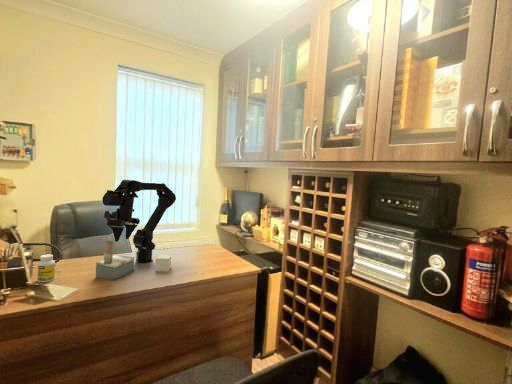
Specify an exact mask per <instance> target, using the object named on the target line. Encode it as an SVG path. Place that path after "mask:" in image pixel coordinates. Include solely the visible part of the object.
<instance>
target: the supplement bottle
mask: <svg viewBox="0 0 512 384" xmlns="http://www.w3.org/2000/svg"><path fill="white" fill-rule="evenodd" d="M53 258H54V255H53V254H51V253H50V254H43V255H40V257H39V260H40V261H39V262H38V263H37V277H36V278H37V282H38V283H47V282H52V281H53V280H54V279H55V273H56V269H55V268H56V266H55V265H56V262H55V260H54V259H53Z"/></svg>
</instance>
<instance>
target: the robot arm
mask: <svg viewBox="0 0 512 384" xmlns="http://www.w3.org/2000/svg"><path fill="white" fill-rule="evenodd" d="M140 191H155V192H156V195H157V196H158V198H157V206H156V207H155V209H154V211H153V212H152V214H151V216H150V217H149V218H148V220H147V222H146V223H145V225H144V227H143V228H141V229H139V228H138V229H137V230H136V232H135V229H136V228H137V227H138V226H139V225H140V221H141V219H140V218H138V217H133V212H135V209H134V203H135V199H137V198H139V195H138V194H137V193H138V192H140ZM176 200H177V197H176V194H175V193H174V191H173V190H171V189H170V188H169V187H168V186H167V185H166V184H165V182H158V181H157V182H145V181H143V182H141V181H138V180H134V179H122V180H121V181H120V184H118V186H117V187H116V188H115V189H114V190H111V189H110V190H109V189H107V190H106V192H105V193H104V195H103V196H102V204H103V205H104V206H107V207H117V208H116V210H115V211H111V210H106V211H104V213H103V218H105V220H106V226H108V228H110V229H111V230H112V233H113V237H114V241H115V242H116V243H117V242H119V240H120V237H121V236H122V234H123V232H124V229H125V240H129V238H130V237H131V235H132V234H133V232H135V234H134V235H133V238H132V243H133V246H134V248H135V249H137V251H136V253H135V255H136V256H135V260H136V262H138V263H139V264H143V263H152V262H153V261H154V259H153V250H155V248H156V243H154V242H153V239H154V231H155V230H156V228H157V226H158V224H159V222H160V220H162V218H163V216H164V214H165V212H166V211H167V210H168V209H169V208H171V207H172V206H173V205H174V204H175V202H176Z"/></svg>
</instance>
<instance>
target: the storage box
mask: <svg viewBox="0 0 512 384" xmlns="http://www.w3.org/2000/svg"><path fill="white" fill-rule="evenodd" d="M134 267H135V259H134V260H132V261H129V262H127V263H125V264H122V265H120V266H118V267H115V268H113V267H106V266H100V265H95V278H97V279H102V280H107V281H117V280H119V279H120V278H123V277H124V276H126V275H129V274H130V273H132V272H134V269H135V268H134Z"/></svg>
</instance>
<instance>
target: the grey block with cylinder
mask: <svg viewBox="0 0 512 384" xmlns="http://www.w3.org/2000/svg"><path fill="white" fill-rule="evenodd" d="M113 246H114V242H113V240H105V241H104V247H103V248H104V252H103V255H104V256H103V259H102V260H100V261H97V262H96V263H95V266H97V265H100V266H106V267H113V268H115V267H118V266H120V265H122V264H125V263H127V262H129V261H132V260H134V261H135V257H133V256H128V255H127V256H126V255H120V254H116V255H115V254H114V255H113V249H114V247H113Z"/></svg>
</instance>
